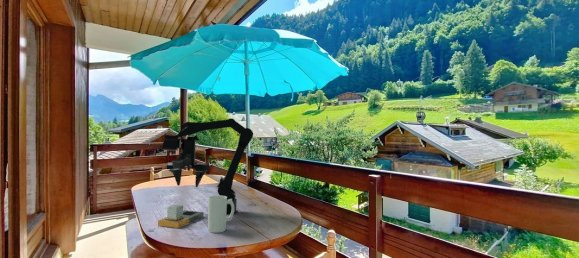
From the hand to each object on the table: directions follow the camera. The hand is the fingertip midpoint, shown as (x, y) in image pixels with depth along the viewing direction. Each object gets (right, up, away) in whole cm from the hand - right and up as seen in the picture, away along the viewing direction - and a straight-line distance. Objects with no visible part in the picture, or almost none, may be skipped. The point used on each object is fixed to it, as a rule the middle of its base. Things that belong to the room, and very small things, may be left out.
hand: (187, 186), depth 136 cm
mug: (+20, -12, -22) cm, 32 cm away
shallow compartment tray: (+2, -12, -12) cm, 17 cm away
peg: (0, -12, -16) cm, 20 cm away
